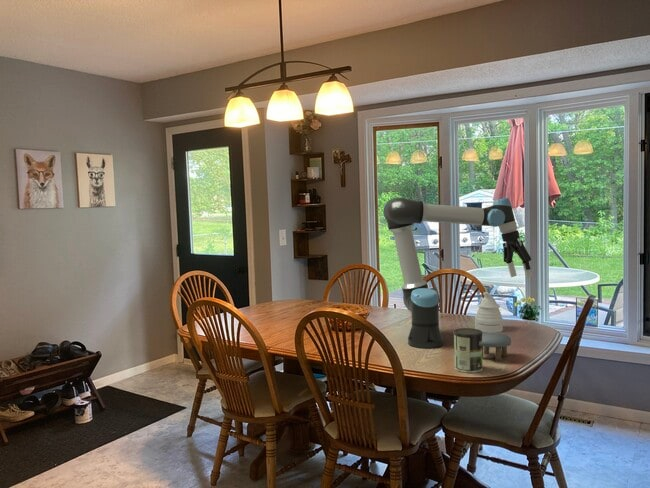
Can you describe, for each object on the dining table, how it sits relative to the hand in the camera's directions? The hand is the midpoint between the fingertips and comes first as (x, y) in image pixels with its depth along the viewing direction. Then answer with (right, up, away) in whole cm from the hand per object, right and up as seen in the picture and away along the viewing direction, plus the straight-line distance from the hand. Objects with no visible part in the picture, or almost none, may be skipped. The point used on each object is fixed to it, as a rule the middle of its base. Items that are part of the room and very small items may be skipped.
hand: (521, 276), depth 241 cm
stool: (-24, -30, -32) cm, 50 cm away
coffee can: (-37, -31, -45) cm, 66 cm away
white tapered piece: (-11, -26, +12) cm, 31 cm away
